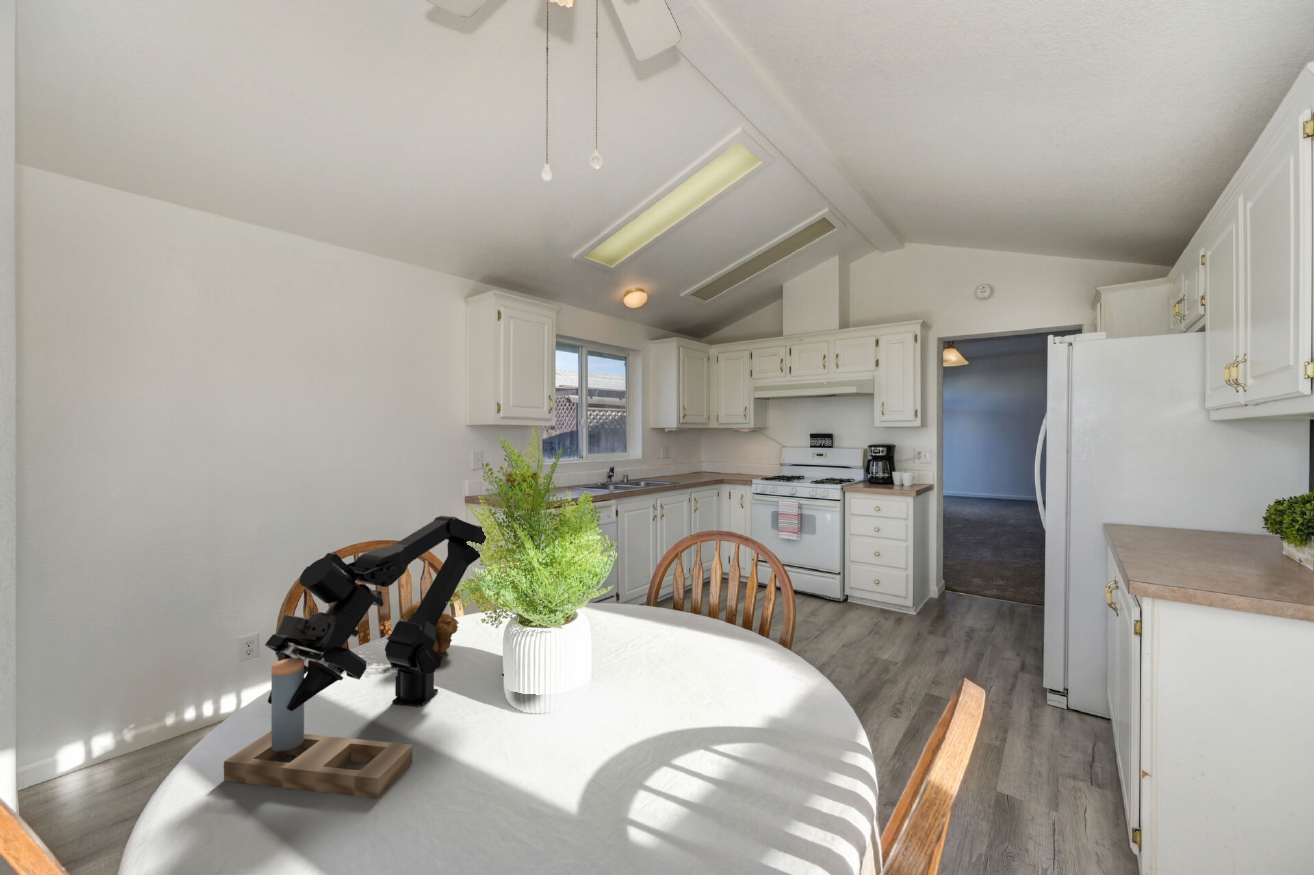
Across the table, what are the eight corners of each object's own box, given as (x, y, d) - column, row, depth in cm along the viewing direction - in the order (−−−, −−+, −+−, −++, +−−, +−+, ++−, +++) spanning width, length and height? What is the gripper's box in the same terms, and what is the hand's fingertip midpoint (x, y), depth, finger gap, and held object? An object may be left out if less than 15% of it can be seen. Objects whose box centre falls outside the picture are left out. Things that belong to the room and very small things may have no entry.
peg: (306, 733, 93) (306, 656, 93) (300, 748, 89) (300, 667, 89) (275, 738, 91) (275, 660, 91) (267, 753, 87) (267, 671, 87)
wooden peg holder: (412, 763, 92) (412, 744, 92) (377, 798, 83) (377, 778, 83) (271, 747, 96) (271, 730, 96) (223, 780, 87) (223, 761, 87)
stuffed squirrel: (389, 655, 135) (390, 601, 135) (449, 643, 143) (449, 592, 143) (398, 670, 127) (399, 613, 127) (461, 656, 135) (462, 602, 135)
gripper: (276, 586, 97) (204, 674, 87) (350, 601, 90) (280, 699, 80) (320, 617, 105) (257, 701, 95) (391, 633, 97) (331, 727, 87)
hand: (279, 706), depth 89 cm, fingers closed on peg, 4 cm apart
